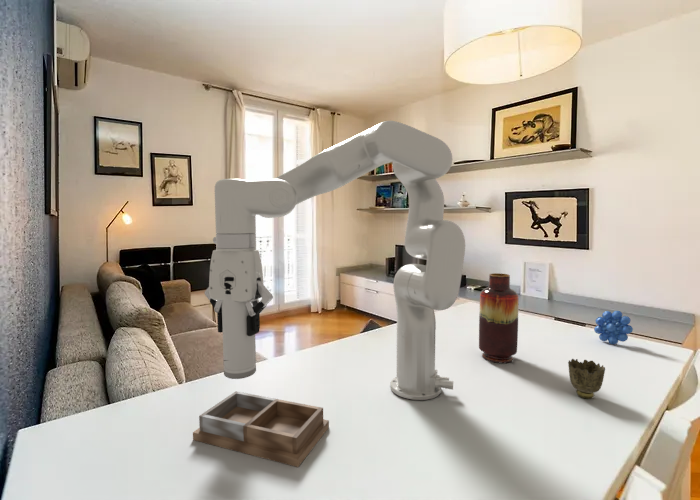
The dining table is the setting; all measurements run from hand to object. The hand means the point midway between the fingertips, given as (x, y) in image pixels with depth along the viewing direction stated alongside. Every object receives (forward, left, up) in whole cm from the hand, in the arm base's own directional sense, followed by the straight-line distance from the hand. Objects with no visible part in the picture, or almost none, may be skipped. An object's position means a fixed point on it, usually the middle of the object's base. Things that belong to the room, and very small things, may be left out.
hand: (238, 331), depth 73 cm
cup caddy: (-5, 0, -20) cm, 21 cm away
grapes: (-88, -88, -20) cm, 126 cm away
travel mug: (0, 0, -9) cm, 9 cm away
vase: (-50, -60, -20) cm, 81 cm away
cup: (-69, -40, -20) cm, 82 cm away
